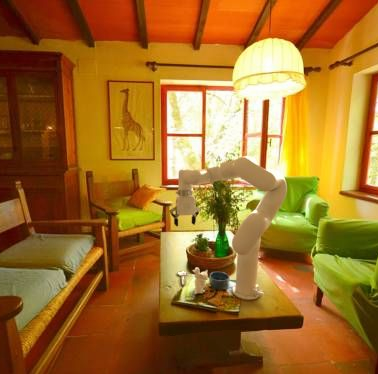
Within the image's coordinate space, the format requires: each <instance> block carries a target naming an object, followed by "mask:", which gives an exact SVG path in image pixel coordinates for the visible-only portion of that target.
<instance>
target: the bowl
mask: <svg viewBox="0 0 378 374" xmlns="http://www.w3.org/2000/svg"><path fill="white" fill-rule="evenodd" d="M208 277H209V278H208V284H209V286H210V285H211V286H210V287H211V288H212V289H214V290H216V291H225V290H227V289H228V288H229V287H230V277H231V276H230V275H229V274H228V273H226V272H224V271H212V272H210V273H209V275H208Z"/></svg>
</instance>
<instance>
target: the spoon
mask: <svg viewBox="0 0 378 374" xmlns="http://www.w3.org/2000/svg"><path fill="white" fill-rule="evenodd" d="M177 276H179V277H181V278H180V279H181V286H185V285H186V283H185V277H186V276H187V272H186V271H183V270H180V271H178V272H177Z"/></svg>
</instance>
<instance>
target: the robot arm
mask: <svg viewBox="0 0 378 374" xmlns="http://www.w3.org/2000/svg"><path fill="white" fill-rule="evenodd" d="M234 179H241V180H243V181H245V182H246V183H248V184H249V185H251V186H253V188H256V189H257V190H259V191H261V192H265V193H264V194H263V196H262V197H261V199H260V201H259V202H258V204H257V206H256V207H255V209H254V210H253V211H251V212H249V213H248V214H247V215H246V216H245V217H244V219H243V220H242V222H241V224H240V226H239V227H238V229H237V230H236V232H235V234H234V235H233V237H232V240H231V247H232V249H233V251H234V252H235V253H236V254H237V256H236V257H237V259H236V272H235V273H236V274H235V275H236V276H235V285H233V286H232V290H231V292H232V294H233V295H234V296H235V297H236V298H239V299H241V300H246V301H253V300H257V299H258V298H259V297H261V298H264V297H265V291H264V290H263V289H260V288H259V284H257V281H258V268H259V256H260V248H261V243H262V242H261V241H262V239H261V238H262V236H263V235H264V233H265V232H266V231H267V230H268V229H269V227H270V226H271V224H272V222H273V220H274V218H275V217H276V215H277V214H278V212H279V210H280V208H281V207H282V205H283V204H284V202H285V200H286V197H287V193H288V185H287V181H286V179H285V177H284V175H283V174H282V173H281V172H279V171H278V170H275V169H266V168H264V167H263V166H261V165H259V163H258V161H257V160H256V158H254V157H252V156H241V157H238V158H236V159H233V160H227V161H224V162H221V163H220V164H218V165H216V166H213V167H208V168H203V169H186V168H183V169H180V170H178V183H177V184H178V189H177V190H176V191H175V195H177V196H176V199H175V206H174V207H172V208H171V209H170V210H168V211H169V213H170V215H171V217H172V218H173V224H174V226H175V227H179V217H180V216H191V215H192V216H191V224H192V225H193V226H194V225H196V223H197V217H198V215H199V214H200V212H201V208H200V207H198V206H196V198H195V195H194V193H193V192H194V191H193V189H194V186H201V185H204V184H209V183H214V182H220V181H229V180H234ZM174 212H175V213H174Z"/></svg>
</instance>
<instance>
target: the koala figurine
mask: <svg viewBox="0 0 378 374" xmlns="http://www.w3.org/2000/svg"><path fill="white" fill-rule="evenodd" d="M191 271H192V272H193V273H194V278H195V279H194V292H193V294H194V295H196V294H197V295H198V294H203V293H205V292H206V290H205V289H204V288H205V287H206V286H207V283H206V281H209V278H208V277H209V275H208V269H206V270H204V271H201V272H200V267H197V266H196V267H195V268H194V269H192V270H191Z"/></svg>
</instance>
